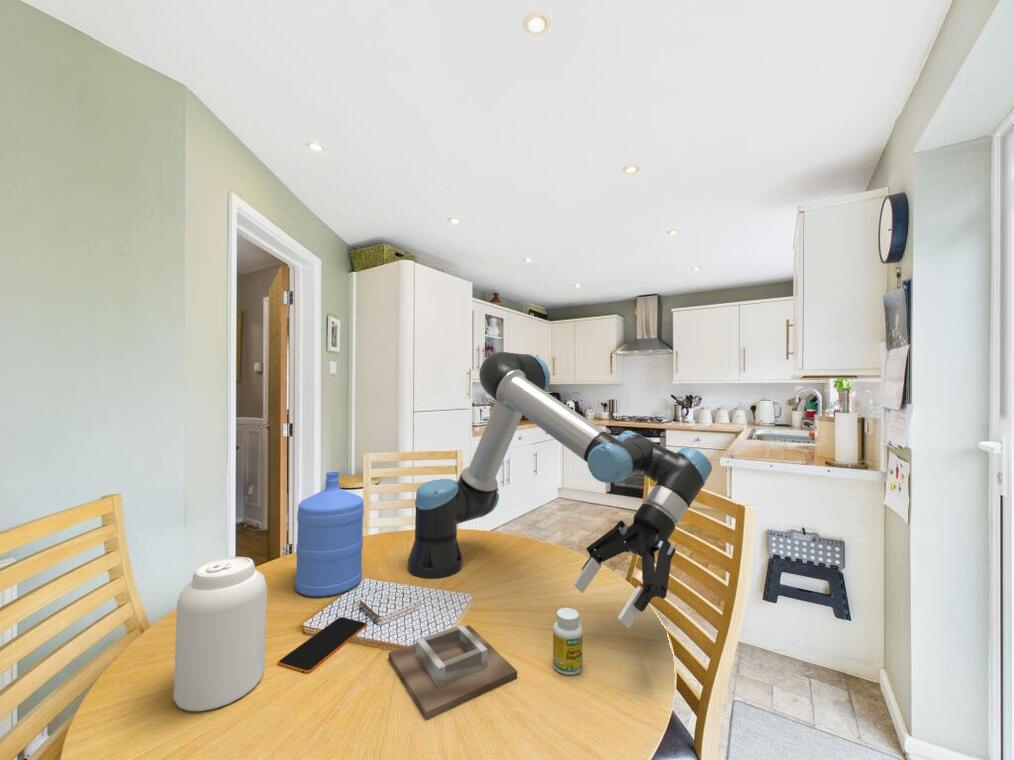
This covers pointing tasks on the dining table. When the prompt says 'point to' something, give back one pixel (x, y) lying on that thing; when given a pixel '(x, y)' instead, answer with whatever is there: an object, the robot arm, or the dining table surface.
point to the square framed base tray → (450, 669)
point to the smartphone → (322, 645)
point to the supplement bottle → (567, 642)
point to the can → (220, 634)
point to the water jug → (329, 541)
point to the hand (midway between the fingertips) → (598, 604)
